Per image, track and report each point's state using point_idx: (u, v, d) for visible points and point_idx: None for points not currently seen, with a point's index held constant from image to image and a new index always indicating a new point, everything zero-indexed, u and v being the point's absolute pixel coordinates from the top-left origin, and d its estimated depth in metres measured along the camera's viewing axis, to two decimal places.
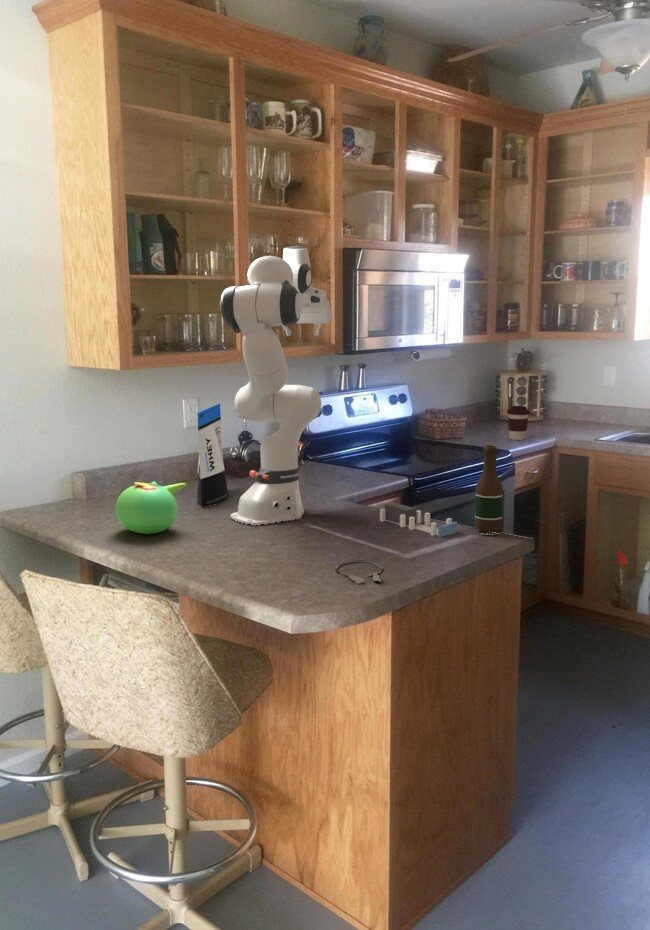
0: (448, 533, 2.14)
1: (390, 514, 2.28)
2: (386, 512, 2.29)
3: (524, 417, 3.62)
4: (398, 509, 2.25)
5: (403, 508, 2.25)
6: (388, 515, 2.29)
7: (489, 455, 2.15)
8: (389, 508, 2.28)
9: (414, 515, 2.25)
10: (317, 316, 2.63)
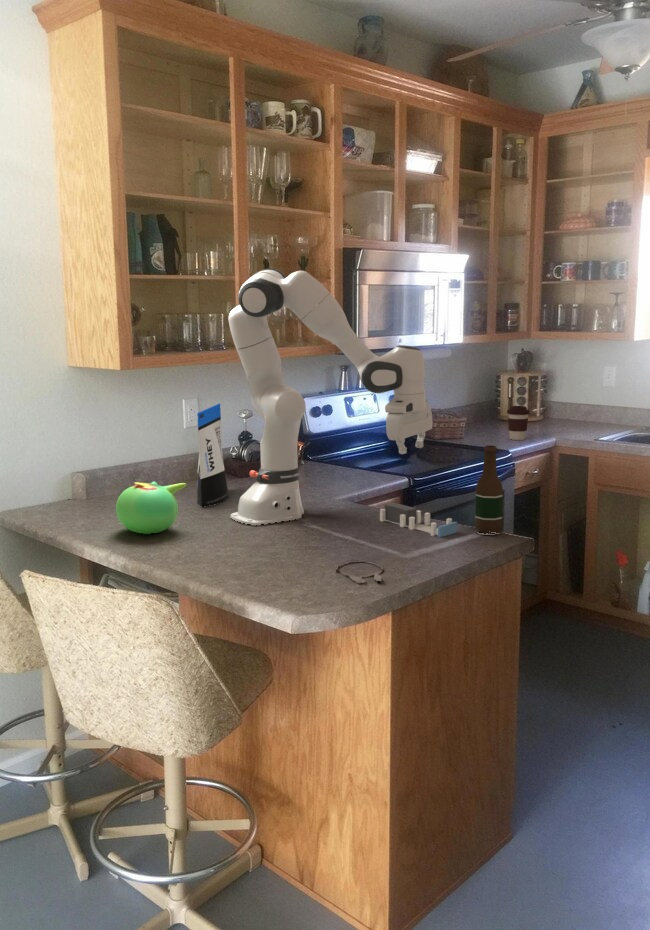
0: (448, 533, 2.14)
1: (390, 514, 2.28)
2: (386, 512, 2.29)
3: (524, 417, 3.62)
4: (398, 509, 2.25)
5: (403, 508, 2.25)
6: (388, 515, 2.29)
7: (489, 455, 2.15)
8: (389, 508, 2.28)
9: (414, 515, 2.25)
10: None
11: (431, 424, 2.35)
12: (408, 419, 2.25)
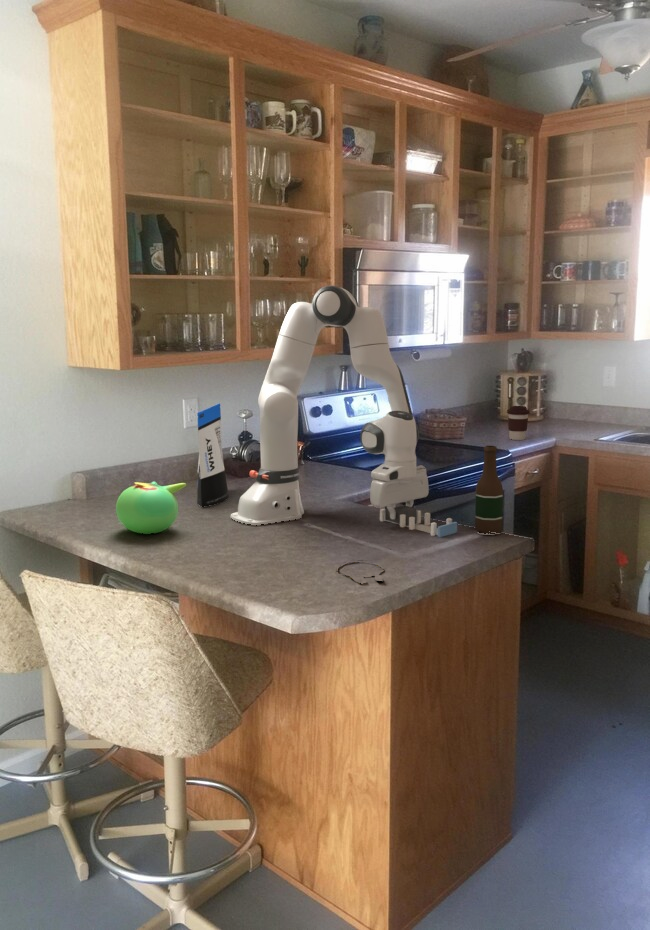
0: (448, 533, 2.14)
1: None
2: (386, 512, 2.29)
3: (524, 417, 3.62)
4: (398, 509, 2.25)
5: (403, 508, 2.25)
6: (388, 515, 2.29)
7: (489, 455, 2.15)
8: None
9: (414, 515, 2.25)
10: None
11: (426, 491, 2.31)
12: (395, 486, 2.22)
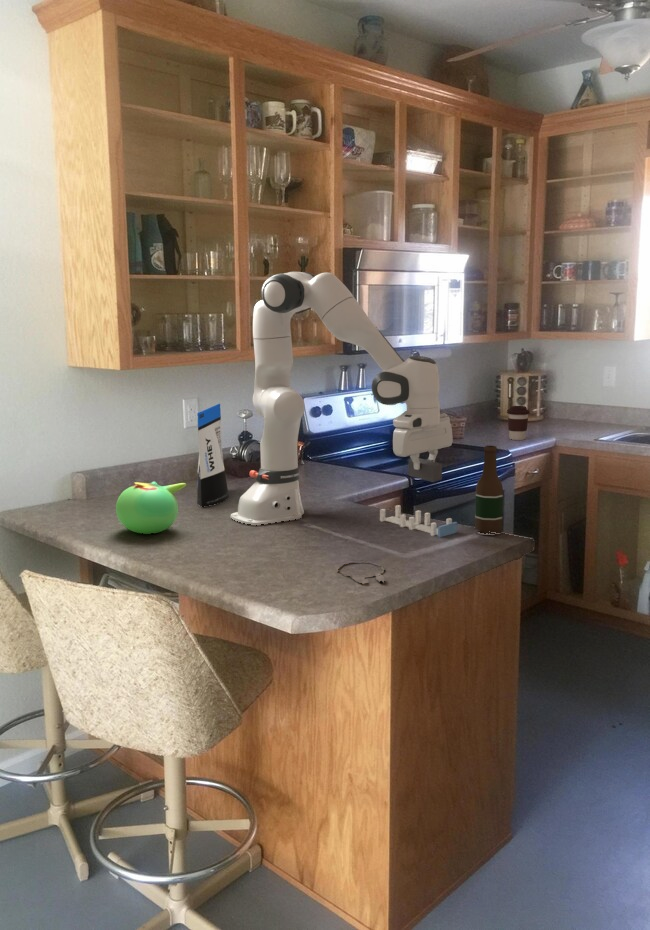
0: (448, 533, 2.14)
1: (414, 470, 2.19)
2: (410, 468, 2.20)
3: (524, 417, 3.62)
4: (423, 465, 2.16)
5: (428, 464, 2.15)
6: (412, 471, 2.19)
7: (489, 455, 2.15)
8: (413, 464, 2.18)
9: (440, 471, 2.15)
10: None
11: (450, 440, 2.21)
12: (418, 435, 2.13)
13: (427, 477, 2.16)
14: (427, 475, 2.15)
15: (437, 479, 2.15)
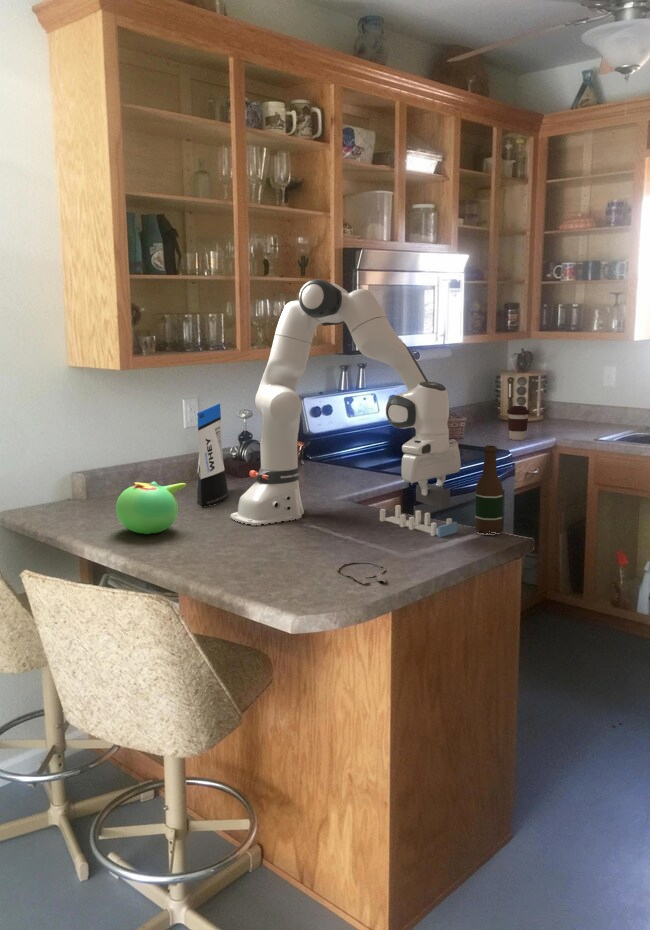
0: (448, 533, 2.14)
1: (422, 495, 2.18)
2: (418, 493, 2.19)
3: (524, 417, 3.62)
4: (431, 491, 2.15)
5: (436, 490, 2.15)
6: (420, 496, 2.19)
7: (489, 455, 2.15)
8: None
9: (448, 497, 2.15)
10: None
11: (458, 466, 2.21)
12: (427, 461, 2.12)
13: (434, 503, 2.15)
14: (435, 501, 2.15)
15: (445, 505, 2.15)
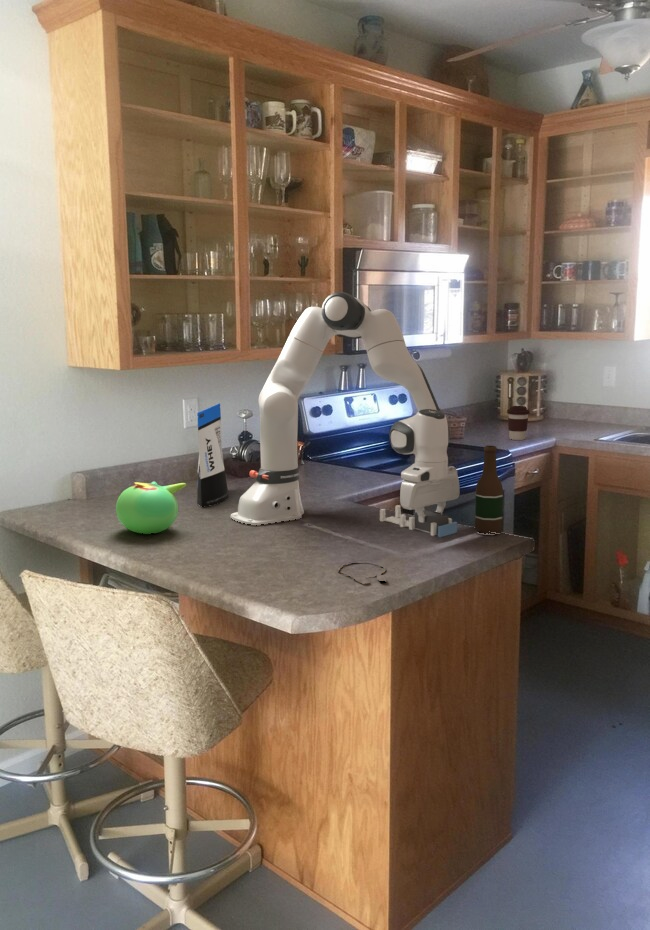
0: (448, 533, 2.14)
1: (420, 522, 2.19)
2: (416, 520, 2.21)
3: (524, 417, 3.62)
4: (429, 517, 2.17)
5: (434, 516, 2.16)
6: (418, 523, 2.20)
7: (489, 455, 2.15)
8: None
9: (446, 523, 2.16)
10: None
11: (457, 493, 2.22)
12: (425, 488, 2.13)
13: None
14: None
15: None
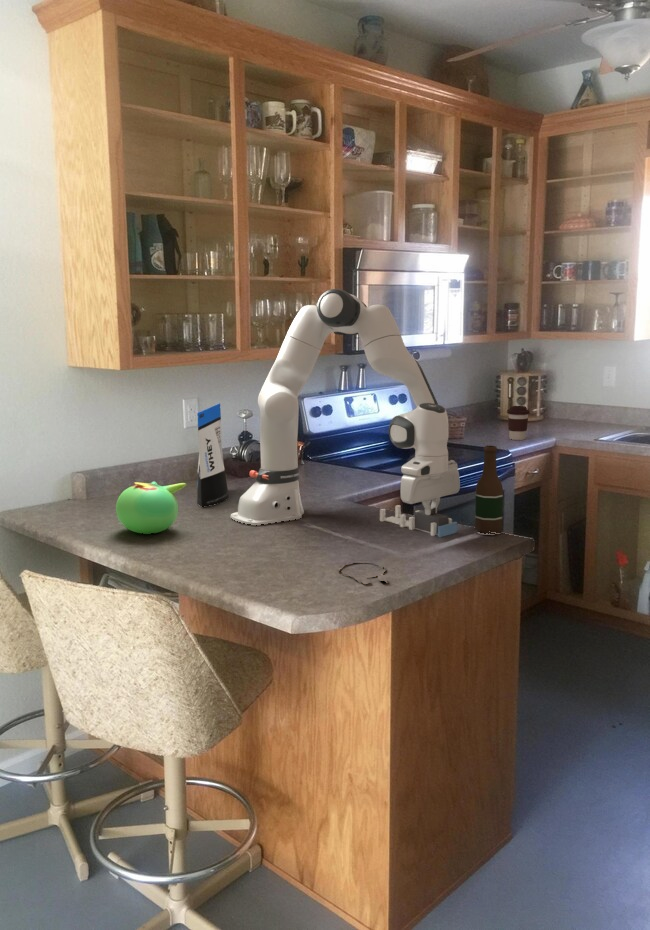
0: (448, 533, 2.14)
1: (420, 522, 2.19)
2: (416, 520, 2.21)
3: (524, 417, 3.62)
4: (429, 517, 2.17)
5: (434, 516, 2.16)
6: (418, 523, 2.20)
7: (489, 455, 2.15)
8: (419, 516, 2.19)
9: (446, 523, 2.16)
10: None
11: (458, 487, 2.22)
12: (426, 482, 2.13)
13: None
14: None
15: None
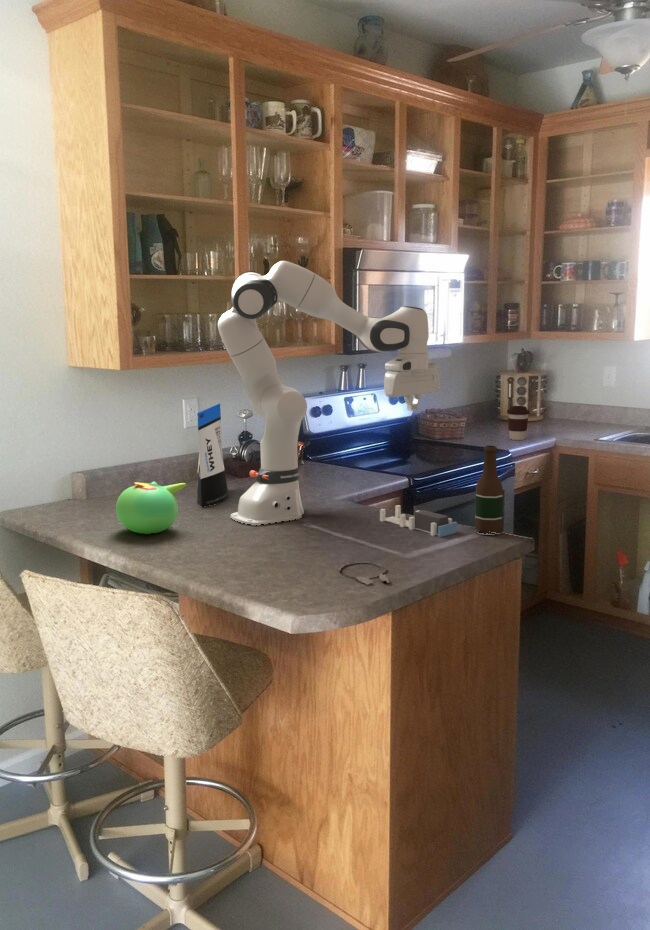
0: (448, 533, 2.14)
1: (420, 522, 2.19)
2: (416, 520, 2.21)
3: (524, 417, 3.62)
4: (429, 517, 2.17)
5: (434, 516, 2.16)
6: (418, 523, 2.20)
7: (489, 455, 2.15)
8: (419, 516, 2.19)
9: (446, 523, 2.16)
10: None
11: (438, 387, 2.39)
12: (407, 378, 2.31)
13: None
14: None
15: None
